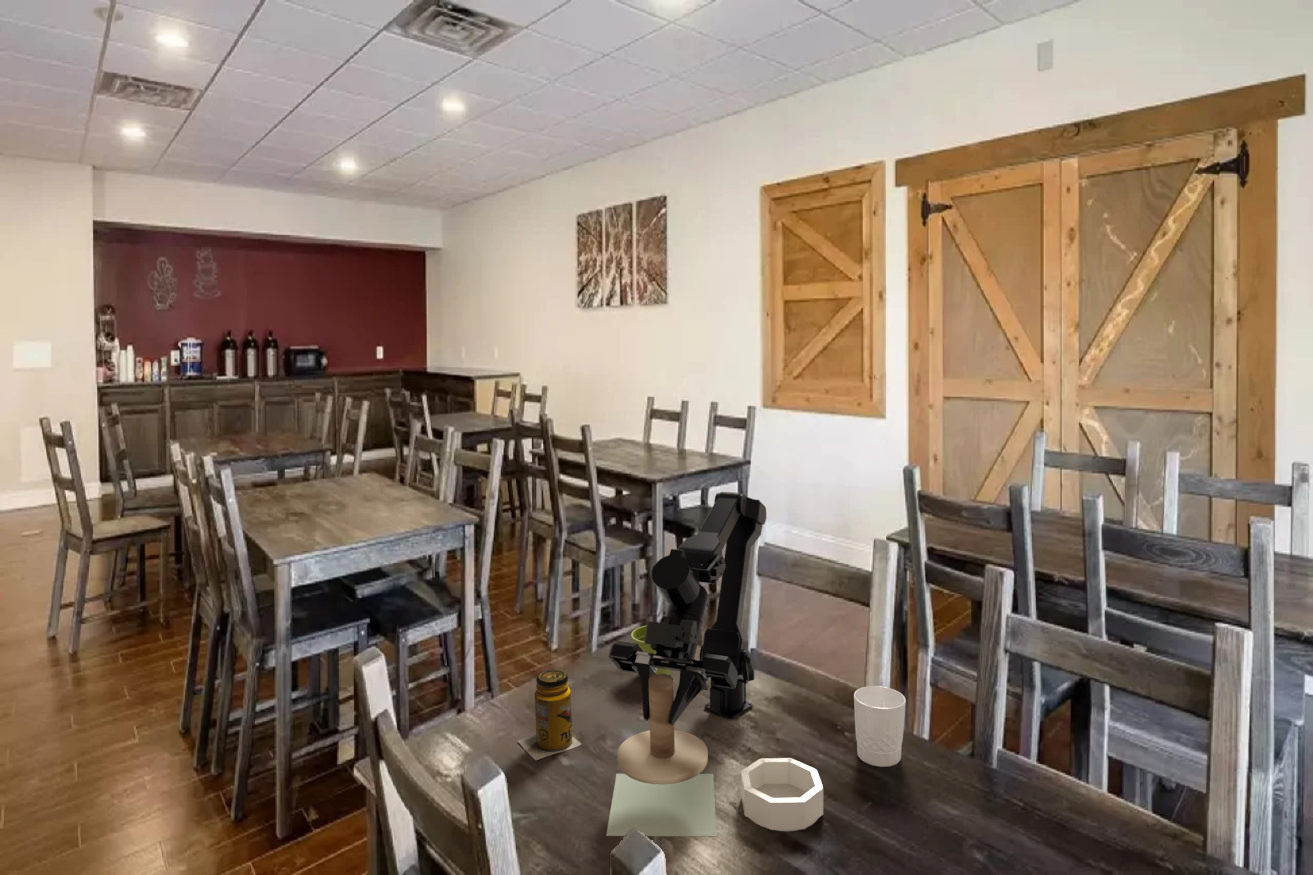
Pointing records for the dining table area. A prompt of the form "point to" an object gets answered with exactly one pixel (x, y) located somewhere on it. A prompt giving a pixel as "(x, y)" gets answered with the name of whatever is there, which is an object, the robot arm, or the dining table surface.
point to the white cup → (879, 725)
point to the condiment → (551, 716)
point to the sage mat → (663, 807)
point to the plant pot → (646, 646)
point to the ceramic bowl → (781, 794)
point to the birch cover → (662, 743)
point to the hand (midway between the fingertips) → (658, 721)
